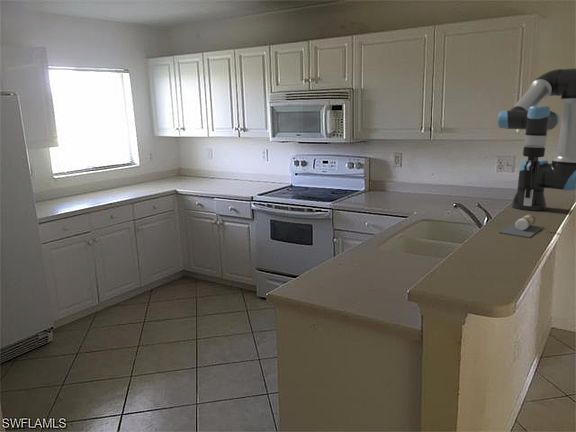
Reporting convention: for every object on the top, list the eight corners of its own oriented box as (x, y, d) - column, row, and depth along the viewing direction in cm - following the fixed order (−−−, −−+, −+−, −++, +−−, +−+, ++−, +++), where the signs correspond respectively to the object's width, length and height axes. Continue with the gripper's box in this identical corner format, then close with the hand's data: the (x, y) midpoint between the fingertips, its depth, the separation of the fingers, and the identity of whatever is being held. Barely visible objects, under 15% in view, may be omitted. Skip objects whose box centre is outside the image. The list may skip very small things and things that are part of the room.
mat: (514, 223, 202) (514, 222, 202) (542, 228, 195) (542, 227, 195) (499, 233, 188) (499, 232, 187) (529, 238, 181) (529, 237, 180)
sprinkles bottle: (527, 212, 200) (518, 217, 189) (538, 217, 197) (529, 223, 187) (521, 221, 202) (512, 226, 191) (532, 227, 199) (523, 232, 189)
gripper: (528, 144, 195) (521, 202, 200) (519, 146, 185) (512, 206, 190) (549, 145, 190) (541, 204, 195) (540, 148, 180) (533, 209, 186)
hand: (527, 205), depth 193 cm, fingers closed
